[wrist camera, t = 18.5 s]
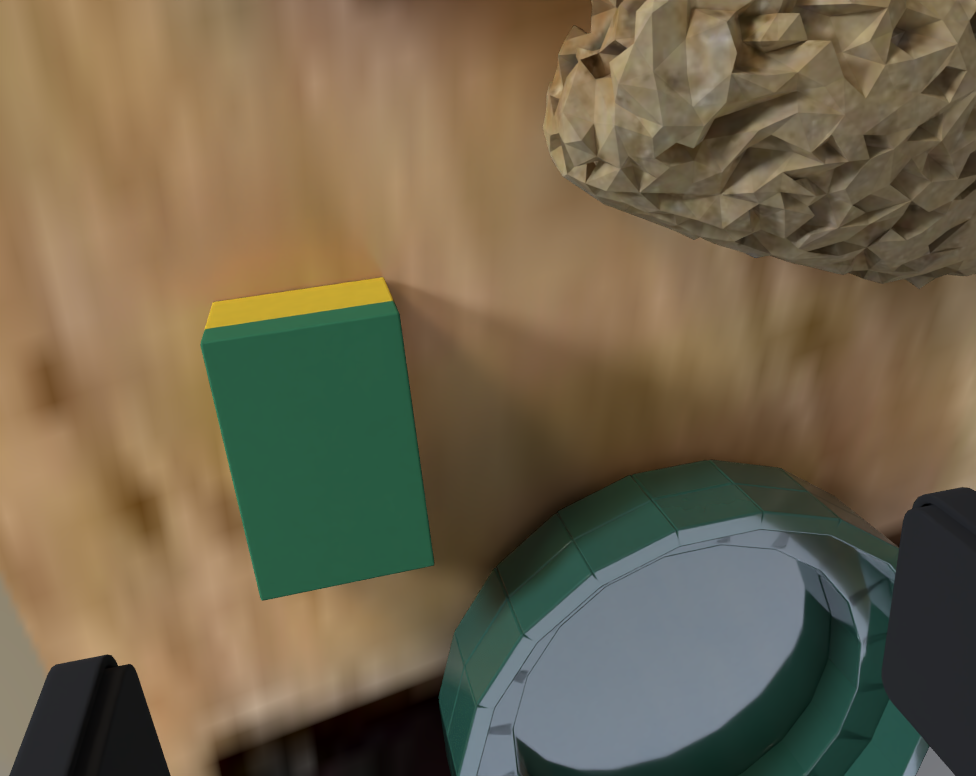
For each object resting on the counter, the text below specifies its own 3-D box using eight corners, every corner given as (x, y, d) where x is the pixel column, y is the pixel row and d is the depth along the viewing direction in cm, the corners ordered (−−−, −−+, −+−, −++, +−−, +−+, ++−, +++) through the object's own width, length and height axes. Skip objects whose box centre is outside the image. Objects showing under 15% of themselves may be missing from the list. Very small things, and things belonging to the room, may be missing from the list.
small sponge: (212, 301, 22) (199, 343, 19) (383, 276, 23) (399, 311, 20) (264, 532, 25) (260, 602, 22) (416, 502, 25) (434, 566, 22)
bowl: (408, 506, 25) (428, 581, 22) (890, 413, 28) (979, 466, 24) (464, 883, 32) (487, 990, 28) (855, 777, 34) (922, 863, 31)
